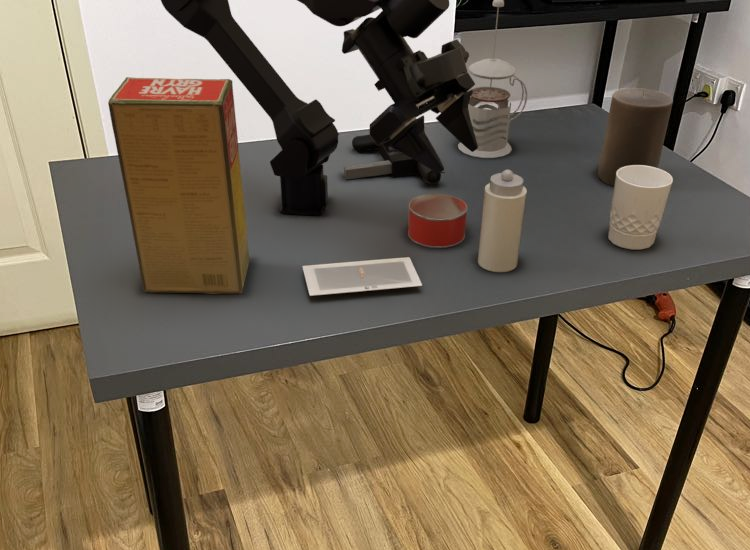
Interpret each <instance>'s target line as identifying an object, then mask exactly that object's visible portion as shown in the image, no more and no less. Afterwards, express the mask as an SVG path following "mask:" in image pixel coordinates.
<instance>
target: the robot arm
mask: <svg viewBox="0 0 750 550" xmlns="http://www.w3.org/2000/svg"><path fill="white" fill-rule="evenodd" d="M296 1H297V2H299V3H301V4H302V5H304V6H305V7H306V8H307V9H308V10H309V11H310V13H311V14H313V16H316V17H318V18H320V19H322V20H323V21H325V22H327V23H328V24H330V25H332V26H335V27H345V26H347V25H349V24H352V23H353V22H356V21H358V20H360V19H362V18H365V17H366V16H369V15H370V14H373V13H375V12H376V11H378V10H382V11H381V12H379V14H378V15H377V16H376V17H371V16H370V17H366V18H365V19H364V20H363V21H362V22H361V23H360V24H359V25H358V26H357V27H356V28H355V29H354V28H351V29H348V30H344V31H343V42H342V44H341V45H342V47H341V53H342V54H344V55H345V54H349V53H352V52H355V51H359V52H360V54H361V55H362V57H363V58H364V60H365V62H366V63H367V64H368V66H369V67H370V69H371V70H372V71H373V73H374V75H375V76H376V78H377V79H378V80H377V81H376V82H375V83H374V87H375V88H376V90H377V91H378V92H379V91H382V90H385V91H386V93H387V94H388V95H389V97H390V99H391V100H392V102H393V103H392V104H390V105H389V106H387V108H386V109H384V110H383V111H382V112H381V113H380V114H379V115H378V116H376V118H375V119H374V120H372V122H371V123H370V124H369V135H370V136H371V137H372V139H373V140H374V142H375V143H376V145H377V146H379V145H381V144H383V143H385V142H387V141H388V140H390V139H391V140H390V141H389V142H388V143H387V144H386V145H385V147H386V149H389V148H393V149H395V150H394V151H397V152H399V153H400V154H401V153H403V154H405V155H407V156H409V157H410V158H412V159H414V160H416V161H417V162H419V163H421V164H422V165H424V166H426V167H428V168H429V169H431V170H433V171H434V172H436V173H438V174H439V173H441V172H444V171H445V167H444V164H443V162H442V160H441V158H440V156H439V155H438V153H437V151H436V150H435V148H434V146H433V144H432V142H431V141H430V139H429V138H428V136H427V133H426V131H425V115H423V114H425V113H427V112H429V111H431V112H433V113H435V114H437V116H436V117H435V120H436V121H437V122H439V124H441V125H442V126H443V128H445V129H446V130H447V132H449V133H450V134H451V135H452V136H453V137H454V138H455V139H456V140H457V141H458V142H459V143H460V142H461V143H462V144H463V145H464V146H465V147H466V148H468V149H469V150H470V151H471V152H474V151H475V150H476V149H478V144H477V141H476V137H475V134H474V127H473V126H472V123H471V119H470V115H469V110H468V105H469V101H470V97H471V95H472V94H473V89H474V88H473V87H474V86H475V85H476V82H475V81H474V80H473V78H472V76H471V74H470V72H468V71H469V70H468V68H467V63H468V59H469V58H470V54H469V52H468V51H467V50H466V49H465V47H464V45H462V43H461V42H460V41H459V39H457V38H456V39H453V40H450V41H448V42H446V43H444V44H442V45H441V51H440V53H438V54H436V55H433V56H431V57H427V55H426V53H425V52H424V51H421V50H420V49H419V50H417V51H414V50H413V49H412V48H411V46H410V45H409V44H408V42H407V40H406V39H405V38H407V37H408V38H411V39H417V38H419V37H420V36H421V35H422V34H423V33H424V32H426V30H427V29H429V27H430V26H431V25H432V24H434V22H436V21H437V20H438V19H439V18H440V17H441V16H442V15H443V14H444V13H445V12H446V11H447V10H448V9H449V8H450V0H296ZM160 2H161V5H162V6H163V8H164V9H165V11H166V12H167V13H168V14H169V15H170V16H171V17H172V18H173V19H175V20H176V21H177V22H178V23H179V24H180V25H181V26H182V27H183V28H185V29H186V30H188V31H190V32H192V33H194V34H196V35H197V36H199V37H202V38H204V39H205V40H206V41H207V42H208V43H209V45H210V46H211V47H212V48H213V49H214V51H215V52H216V53H217V55H218V56H219V57H220V59H222V61H223V62H224V63H225V64H226V66H227V68H229V69H230V70H231V72H232V73H233V74H234V75H235V77H236V78H237V79H238V80H239V82H240V83H241V84H242V85H243V87H245V89H246V90H247V91H248V92H249V94H250V95H251V96H252V98H253V99H254V100H255V101H256V102H257V104H258V105H259V106H260V107H261V108H262V110H263V111H264V112H265V114H266V115H267V116H268V117H269V119H270V120H271V122H272V126H273V128H274V133H275V137H276V141H277V143H278V144H279V146H280V149H281V150H280V152H279V153H277V154H276V155H275V156H274V157H273V158H272V159H271V160H270V161H269V164H270V167H271V170H272V172H273V175H274V176H275V177H276V176H277V177H279V181H280V197H281V205H280V208H279V213H280V214H284V215H285V214H288V215H305V216H307V215H308V216H322V214H323V212H324V208H326V206H327V204H328V200H329V191H328V190H329V189H328V187H329V186H328V176H327V175H326V174H324V164H326V163H328V162H329V159H330V156H331V154H333V153H334V152H335V151H336V149H337V148H338V144H339V135H340V134H339V131H338V128H337V127H336V125H335V124H334V123H335V122H336V119H335V118H333V117H332V116H330V115H329V113H327V111H326V110H325V108H324V106H323V105H322V103H321V102H320V101H319V100H318V99H317V98H316V99H314V100H312V101H311V102H306V101H304V100H302V99H300V98H298V97H297V96H296V94H295V93H294V92H293V90H292V89H291V88H290V87H289V86H288V84H287V83H286V82H285V81H284V79H283V78H282V77H281V76H280V75H279V73H278V72H277V71H276V70H275V68H274V67H273V66H272V64H271V63H270V62H269V61H268V59H267V58H266V57H265V56H264V54H263V53H262V52H261V50H260V49H259V48H258V47H257V45H256V44H255V43H254V42H253V41H252V39H251V38H250V37H249V36H248V35H247V33H246V31H244V29H243V28H242V27H241V26H240V25H239V23H238V22H237V21H236V19H235V17H234V16H233V14H232V12H231V11H232V10H231V7H230V1H229V0H160ZM441 174H442V173H441Z"/></svg>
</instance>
